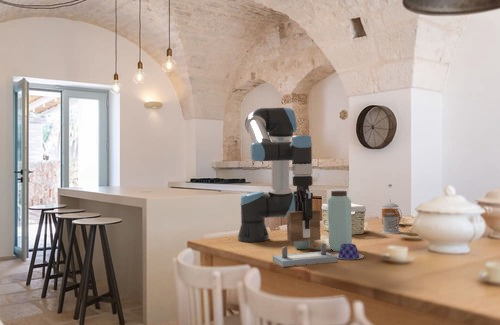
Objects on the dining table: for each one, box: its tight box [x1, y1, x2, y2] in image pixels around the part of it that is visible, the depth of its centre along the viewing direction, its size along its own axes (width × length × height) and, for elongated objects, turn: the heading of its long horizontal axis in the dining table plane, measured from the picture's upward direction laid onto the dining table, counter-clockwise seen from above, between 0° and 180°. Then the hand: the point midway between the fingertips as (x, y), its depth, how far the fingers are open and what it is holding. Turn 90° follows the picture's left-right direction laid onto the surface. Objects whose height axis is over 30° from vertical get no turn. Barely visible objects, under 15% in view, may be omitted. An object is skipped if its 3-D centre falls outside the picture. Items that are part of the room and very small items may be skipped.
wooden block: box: [286, 209, 321, 243], centre depth 181 cm, size 4×12×11 cm, turn 107°
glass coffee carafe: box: [381, 207, 402, 225], centre depth 274 cm, size 9×12×9 cm
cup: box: [292, 241, 311, 250], centre depth 208 cm, size 8×8×10 cm
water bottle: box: [327, 190, 353, 252], centre depth 203 cm, size 10×10×25 cm
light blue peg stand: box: [272, 243, 338, 268], centre depth 182 cm, size 11×22×6 cm, turn 106°
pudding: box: [334, 243, 365, 261], centre depth 187 cm, size 12×12×5 cm
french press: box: [381, 183, 403, 235], centre depth 246 cm, size 10×12×25 cm
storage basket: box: [321, 202, 366, 236], centre depth 251 cm, size 24×16×15 cm
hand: (304, 236), depth 181 cm, fingers closed on wooden block, 4 cm apart
